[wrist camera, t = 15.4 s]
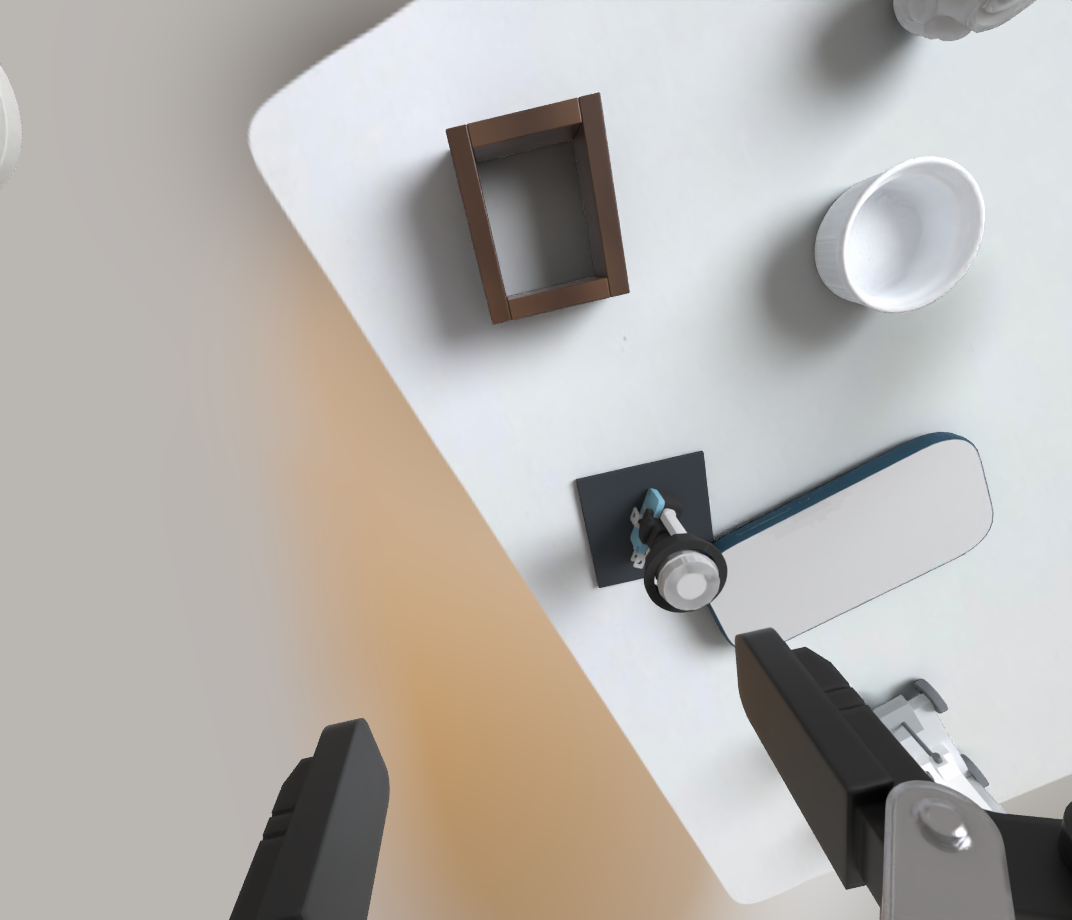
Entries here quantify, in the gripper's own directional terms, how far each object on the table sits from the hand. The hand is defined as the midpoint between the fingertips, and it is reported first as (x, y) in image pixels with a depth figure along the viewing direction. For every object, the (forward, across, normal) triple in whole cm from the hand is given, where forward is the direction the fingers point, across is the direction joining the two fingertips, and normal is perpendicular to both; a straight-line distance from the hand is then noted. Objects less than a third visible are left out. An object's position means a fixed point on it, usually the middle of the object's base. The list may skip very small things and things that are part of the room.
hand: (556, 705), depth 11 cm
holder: (+29, -4, -11) cm, 31 cm away
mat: (+29, -9, +13) cm, 33 cm away
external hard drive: (+28, -24, +18) cm, 41 cm away
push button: (+29, -8, +12) cm, 32 cm away
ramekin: (+29, -26, -5) cm, 39 cm away
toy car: (+28, -29, +43) cm, 59 cm away
